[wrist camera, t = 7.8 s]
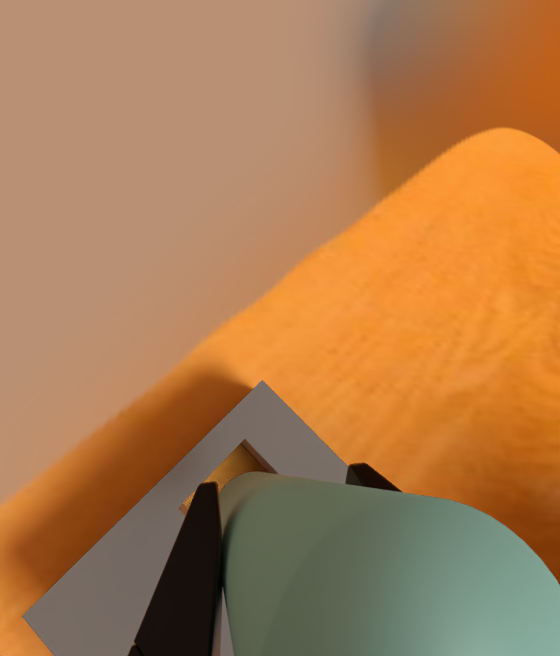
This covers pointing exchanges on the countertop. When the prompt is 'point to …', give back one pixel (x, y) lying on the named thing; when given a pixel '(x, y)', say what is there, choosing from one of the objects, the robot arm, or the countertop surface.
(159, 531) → the socket plate
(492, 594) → the teal peg
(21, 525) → the countertop surface
